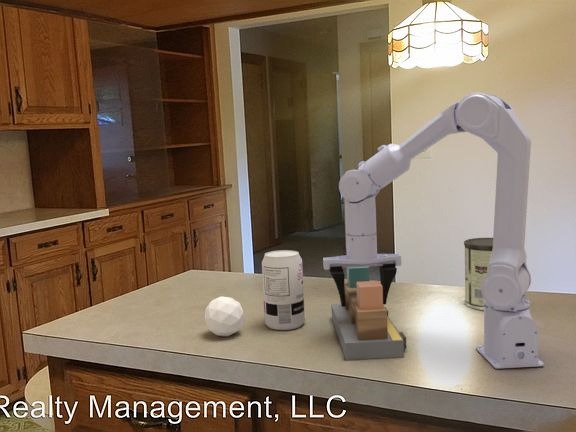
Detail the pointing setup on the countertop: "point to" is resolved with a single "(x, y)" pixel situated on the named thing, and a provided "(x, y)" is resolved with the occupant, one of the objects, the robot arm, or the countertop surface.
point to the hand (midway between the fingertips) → (363, 304)
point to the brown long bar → (365, 318)
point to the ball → (224, 316)
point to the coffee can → (476, 269)
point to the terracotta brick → (369, 295)
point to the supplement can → (283, 290)
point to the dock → (366, 348)
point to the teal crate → (357, 275)
